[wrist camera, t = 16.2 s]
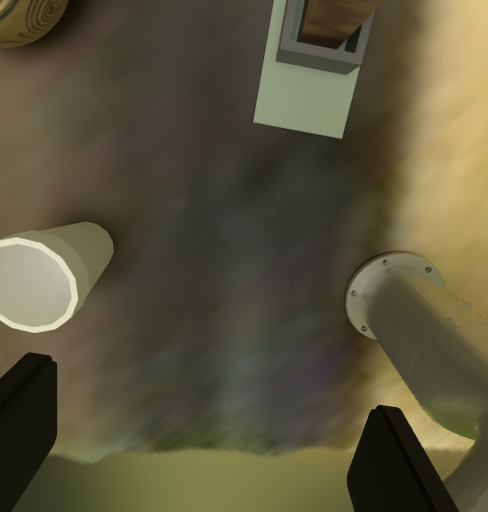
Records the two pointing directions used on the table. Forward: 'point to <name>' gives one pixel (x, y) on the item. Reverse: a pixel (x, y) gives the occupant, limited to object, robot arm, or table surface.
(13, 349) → the table surface
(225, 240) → the table surface
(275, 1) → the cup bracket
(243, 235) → the table surface
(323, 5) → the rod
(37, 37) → the brown round bowl
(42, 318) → the foam cup
